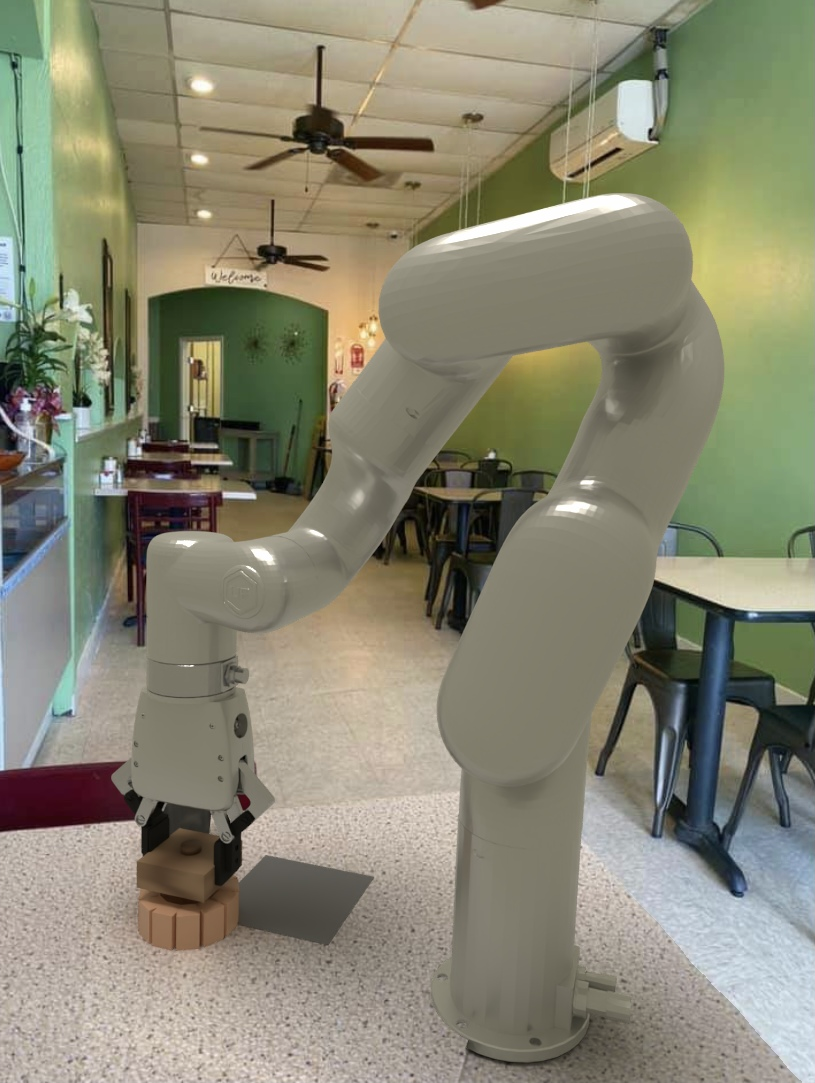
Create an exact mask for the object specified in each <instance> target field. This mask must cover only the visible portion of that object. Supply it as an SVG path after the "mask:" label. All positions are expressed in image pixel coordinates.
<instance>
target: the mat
mask: <svg viewBox="0 0 815 1083" xmlns="http://www.w3.org/2000/svg"><path fill="white" fill-rule="evenodd" d="M374 878H375V876H372V875H367V874H363V873H357V872H353V871H348V870H344V869H343V870H342V869H338V868H332V867H328V866H322V865H318V864H313V863H308V862H303V861H297V860H294V859H293V860H292V859H287V858H282V857H278V856H272V855H268V854H267V855H266V854H265V856H263V857H262V858H261V860H259V862H257V863H256V864H255V866H253V867H252V868H251V869H250V871H248V873H247V874H246V875H244V877H243V878H242V879H241V880H239V922H238V925H239V926H243V927H247V928H252V929H255V930H260V931H264V932H269V933H273V934H278V935H281V936H285V937H290V938H295V939H299V940H304V941H308V942H312V943H316V944H321V945H324V946H329V944H330V943H331V942H332V940H333V939H334V937H335V935H336V934H337V932H339V930H340V928H341V927H342V925H343V924H344V923H345V921H346V920H347V918H348V916H349V915H350V914H351V912H352V911H353V909H354V908H355V906H356V905H357V904H358V902H359V900H360V899H361V898H362V896H363V894H364V893H365V891H366V890H367V889H368V887H369V885H370V884H371V882H372V881H373V880H374ZM238 925H237V926H238Z"/></svg>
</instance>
